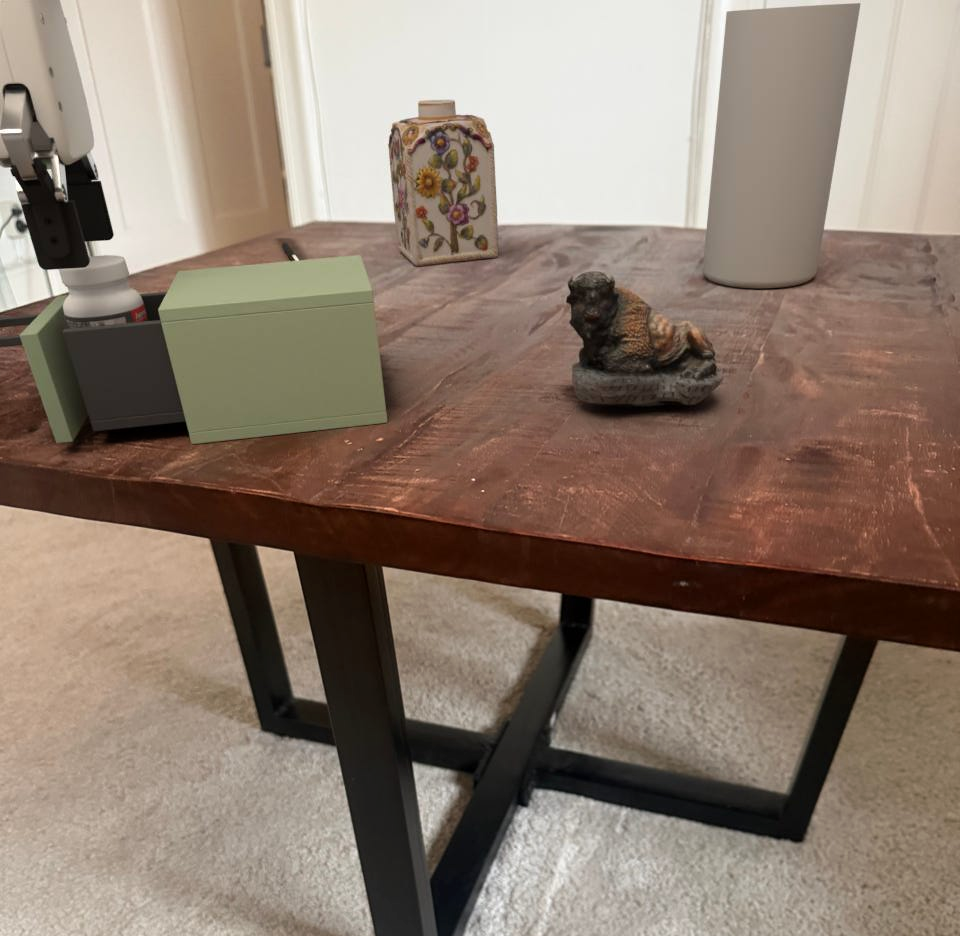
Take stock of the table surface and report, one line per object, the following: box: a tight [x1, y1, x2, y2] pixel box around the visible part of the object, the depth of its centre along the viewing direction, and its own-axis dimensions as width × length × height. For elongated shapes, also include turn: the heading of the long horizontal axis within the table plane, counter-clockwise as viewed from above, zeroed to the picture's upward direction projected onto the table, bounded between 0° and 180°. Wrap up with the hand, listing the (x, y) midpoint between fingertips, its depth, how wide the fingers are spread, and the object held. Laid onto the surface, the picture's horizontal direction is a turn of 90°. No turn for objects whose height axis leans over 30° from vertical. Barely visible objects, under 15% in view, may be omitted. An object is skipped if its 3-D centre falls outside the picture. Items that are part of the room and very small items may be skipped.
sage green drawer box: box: [158, 254, 388, 445], centre depth 69 cm, size 15×13×10 cm
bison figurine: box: [565, 270, 724, 408], centre depth 64 cm, size 12×7×10 cm, turn 97°
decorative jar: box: [387, 99, 499, 267], centre depth 113 cm, size 12×12×18 cm
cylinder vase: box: [702, 2, 861, 289], centre depth 92 cm, size 12×12×25 cm
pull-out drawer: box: [0, 291, 186, 444], centre depth 67 cm, size 19×12×8 cm, turn 100°
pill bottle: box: [58, 254, 148, 329], centre depth 66 cm, size 6×6×10 cm
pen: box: [281, 242, 300, 261], centre depth 122 cm, size 1×19×1 cm, turn 17°
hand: (80, 253), depth 63 cm, fingers open, 9 cm apart
